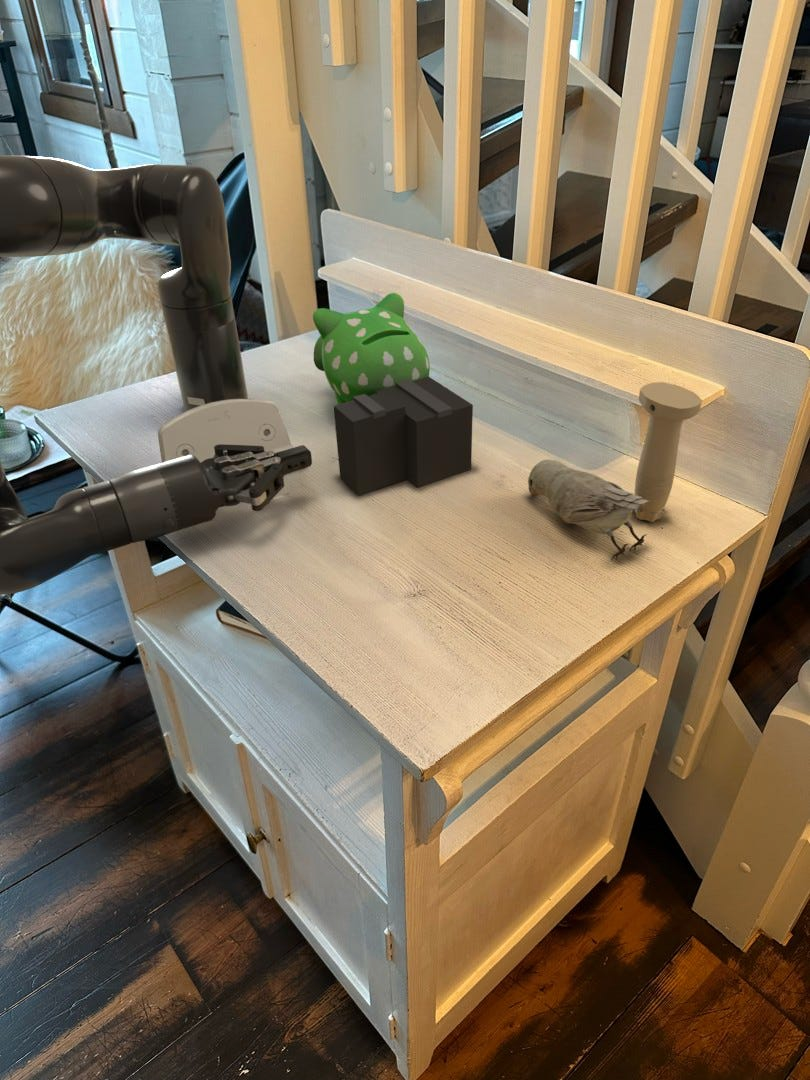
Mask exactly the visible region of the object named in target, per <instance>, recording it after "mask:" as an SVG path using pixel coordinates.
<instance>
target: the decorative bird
mask: <svg viewBox="0 0 810 1080" xmlns="http://www.w3.org/2000/svg"><path fill="white" fill-rule="evenodd" d="M527 479H528V480H527V484H528V491H529V494H530V495H531V497H539V496H542V497H544V498H545V499H547V501H548V503H549V504H550V506H551V507H552V508H553V509H554V510H555V511H556V513H557V515H558V517H559V518H560V519H561V520H562V521H563V523H567V524H574V525H575V526H576V525H577V526H579V527H581V528H583V529H586V530H588V531H592V532H595V533H598V534H601V535H607V536H608V537H609V538H610V540H611V542H612V544H613V545H614V546H615V548H616V549H617V550H618V552H616V553H615V554H613V555H612V557H611V558H610V562H612V561H613V559H614V558H615V560H616V561H618V558H619V556H622V555H623V556H625V552H626V550H627V549H626V547H627V546H628V545H629V543H626V544H623V545H622V547H621V546H620V545H619V544H618V542H617V541H616V539H615V536H614V533H613V532H615V531H617V530H618V529H620V527H622V526H623V525H624V526H625V527H627V528H628V529H629V532H630V534H631V535H632V536H633V538H634V539H635V540H636V541H637V542H635V543H633V544H632V545H631V547H630V548H629V553H630V552H631V550H632V549H634V551H636V548H637V547H638V546H641V547H643V543H645V539H644V538H645V537H646V536H648V534H647V533H646V534H642V535H641V537H640V538H639V537H638V536H637V535H636V533H635V531H634V529H633V526H632V524H631V521H630V520H629V518H630V516H631V515H632V513H633V510H634V509H637V508H638V506H639V505H645V504H644V503H646V502H649V501H647V500H643V499H640V498H642V497H640V496H636V495H635V492H630V491H627V490H624V489H623V488H622V487H621V486H619V485H618V484H616V483H614V482H611V481H608V480H606V479H604V478H602V477H600V476H598V475H596V474H593V473H591V472H587V471H582V470H578V469H574V468H571V467H569V466H567V465H566V464H565V463H562V462H561V461H559V460H556V459H542V460H540V461H539V462H538V463H537V464H535V465H534V466H533V468H532V469H531V470H530V473H529V475H528V478H527Z"/></svg>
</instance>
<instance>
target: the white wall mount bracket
mask: <svg viewBox="0 0 810 1080" xmlns="http://www.w3.org/2000/svg"><path fill="white" fill-rule="evenodd" d="M157 439H158V445H159V454H160V459H161V463H162V462H166V461H169V460H173V459H176V458H180V457H183V456H187V455H193V456H195V457H196V458H197V459H198V460H199V461H200V463H201V462H203V461H204V460H206V459H209V458H213V457H214V455H215V450H214V446H216V445H219V444H224V445H250V446H263V447H264V451H274V452H275V453H277V452H281V451H284V450H287V449H291V448H294V447H293V444H292V442H291V438H290V437H289V434H288V432H287V428H286V426H285V424H284V420H283V418H282V415H281V413H280V410H279V408H278V405H276V404H275V403H274V402H272V401H270V400H263V399H257V398H248V399H230V400H222V401H217V402H212V403H208V404H205V405H201V406H198V407H196V408H193V409H190V410H188V411H186V412H184V411H183V412H182V413H180V414H178V415H176V416H174V417H172V418H171V419H169V420H168V421H166V422H165V423H163V424H162V425H161V426H160V427H159V428H158V431H157Z"/></svg>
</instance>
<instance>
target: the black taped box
mask: <svg viewBox="0 0 810 1080" xmlns="http://www.w3.org/2000/svg"><path fill="white" fill-rule="evenodd" d="M381 392H386V393H387V394H389V395H390V396H391V397H393V398H394V399H395V400H397V401H398V402H400V403H401V404H402V405H404V406H405V412H406V444H407V475H408V479H407V480H408V481H409V482H410V483H411V484H413V485H414V486H415V487H416V488H421V487H423V486H426V485H429V484H432V483H436V482H438V481H441V480H443V479H446V478H449V477H452V476H456V475H459V474H461V473H465V472H467V471H470V470H472V453H473V451H472V448H473V416H474V415H473V413H474V411H473V410H474V405H473V404H472V403H470V402H469V401H468V400H466V399H464V398H463V397H461V396H460V395H459V394H457V393H455V392H453V391H452V390H450V389H449V388H447V387H446V386H444V385H443V384H441V383H440V382H438V381H436V380H435V379H433V378H432V377H431V376H429V377H425V378H422V379H418V380H414V381H411V380H409V379H407V380H403V381H400V382H396V383H395V386H393V387H389V388H385V389H382V390H378V391H375V394H378V393H381Z"/></svg>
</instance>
